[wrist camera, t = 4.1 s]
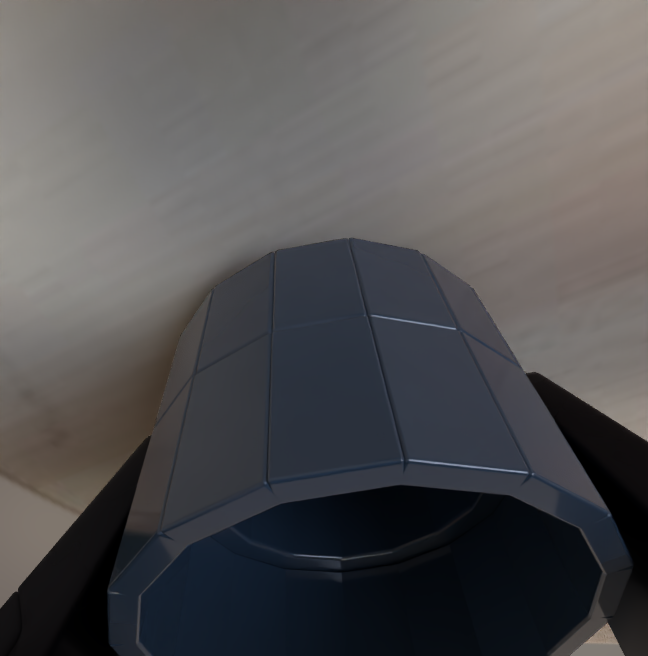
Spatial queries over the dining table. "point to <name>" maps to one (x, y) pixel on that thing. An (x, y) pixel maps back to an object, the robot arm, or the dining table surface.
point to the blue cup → (358, 478)
